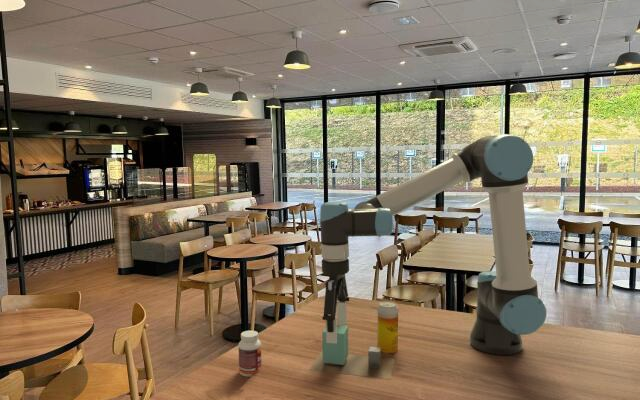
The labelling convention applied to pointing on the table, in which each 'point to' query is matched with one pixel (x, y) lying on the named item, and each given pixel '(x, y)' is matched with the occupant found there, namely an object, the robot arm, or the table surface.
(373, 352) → the short post
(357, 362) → the board
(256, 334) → the pill bottle
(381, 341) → the beer can
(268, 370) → the table surface
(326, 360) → the mint green toy brick
